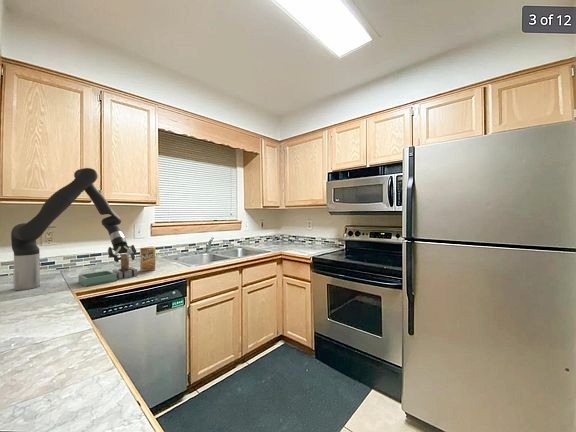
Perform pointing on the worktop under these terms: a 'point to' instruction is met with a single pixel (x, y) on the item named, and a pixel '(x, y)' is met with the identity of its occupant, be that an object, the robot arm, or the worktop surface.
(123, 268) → the wooden pin
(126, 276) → the socket block
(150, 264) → the candy box
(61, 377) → the worktop surface
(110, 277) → the tray
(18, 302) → the worktop surface
